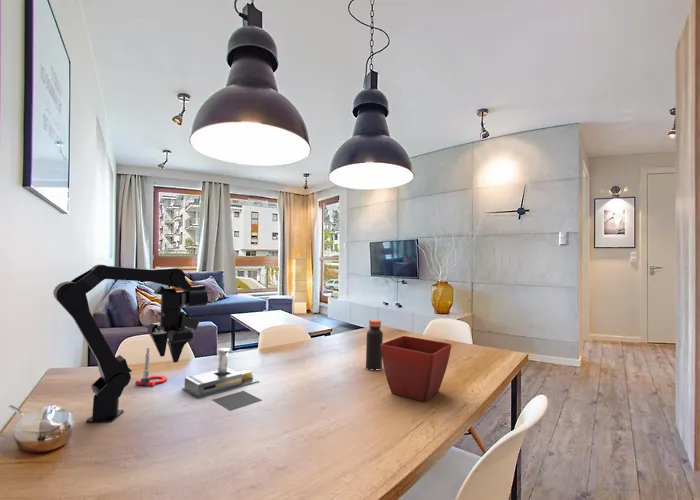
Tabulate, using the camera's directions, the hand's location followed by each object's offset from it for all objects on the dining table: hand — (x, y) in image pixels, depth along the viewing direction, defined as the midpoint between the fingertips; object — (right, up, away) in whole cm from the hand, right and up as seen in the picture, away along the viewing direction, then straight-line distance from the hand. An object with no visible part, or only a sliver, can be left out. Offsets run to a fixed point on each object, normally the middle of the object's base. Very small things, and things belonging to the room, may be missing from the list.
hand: (168, 359), depth 106 cm
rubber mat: (+20, -14, +2) cm, 25 cm away
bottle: (+66, -17, +39) cm, 78 cm away
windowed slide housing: (+11, -14, +14) cm, 23 cm away
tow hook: (-14, -14, +16) cm, 25 cm away
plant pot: (+79, -16, +14) cm, 81 cm away
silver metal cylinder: (+11, -13, +14) cm, 22 cm away
